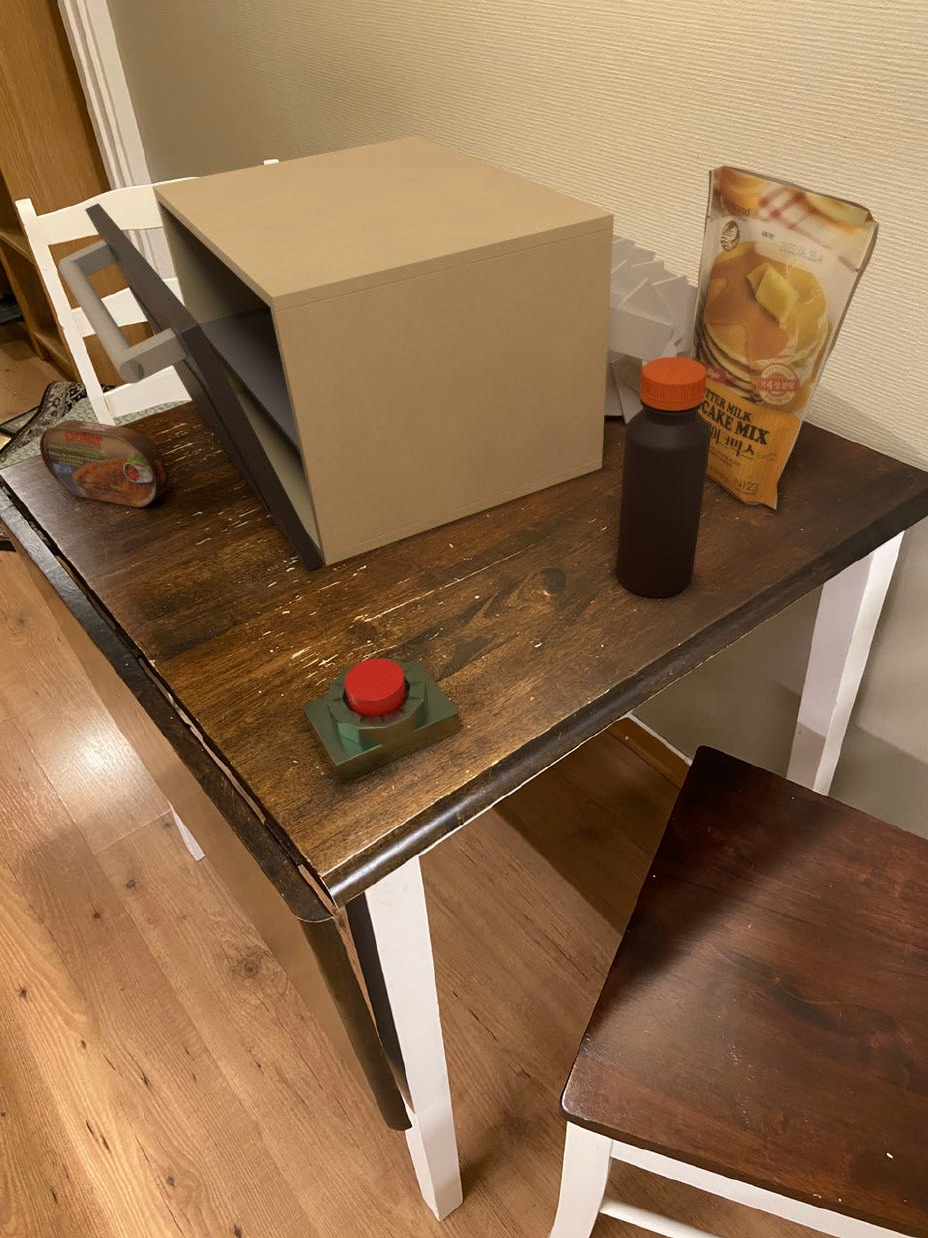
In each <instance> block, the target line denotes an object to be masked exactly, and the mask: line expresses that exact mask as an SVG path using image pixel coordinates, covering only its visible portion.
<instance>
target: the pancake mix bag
mask: <svg viewBox="0 0 928 1238" xmlns="http://www.w3.org/2000/svg"><path fill="white" fill-rule="evenodd" d="M870 210H871V209H869V208H867V207H866V206H864V205H862V204H860V203H858V202H855V201H853V200H848V199H844V198H840V197H838V196H834V195H830V194H827V193H822V192H819V191H815V190H813V189H809V188H807V187H804V186H801V185H799V184H796V183H794V182H791V181H788V180H785V179H781V178H778V177H774V176H770V175H767V174H762V173H758V172H755V171H751V170H748V169H742V168H740V167H739V168H738V167H733V166H728V165H721V166H719V167H716V168H714V169H711V170H708V195H707V204H706V212H705V213H706V214H705V219H704V229H703V241H702V249H701V256H700V262H699V267H698V268H699V269H698V277H697V281H698V282H697V287H698V288H697V294H696V299H695V306H694V313H693V333H692V344H691V360H694V361H696V362H698V363H700V364H702V365H703V366H704V368H705V369H706V370H707V377H706V384H705V393H704V399H703V401H702V402H703V403H702V405H701V407H700V409H698V413H699V414H700V415H701V416H702V417H703V418H704V419H705V420H706V421H707V423H708V424H709V425H710V429H711V441H710V449H709V456H708V463H707V471H706V476H707V478H709V479H710V480H712V481H713V482H714V483H716V484H718V485H719V486H720V487H721V488H723V489H724V490H725V491H726V492H727V493H728V494H730V495H731V496H733V497H734V498H736V499H737V500H738V501H740V502H742V503H744V504H745V505H764V506H766V507H769V508H771V509H774V510H777V505H778V504H777V503H778V498H779V493H778V483H779V480H780V478H781V476H782V473H783V471H784V468H785V466H786V464H787V462H788V459H789V457H790V455H791V454H792V451H793V449H794V447H795V444H796V441H797V439H798V436H799V433H800V430H801V428H802V424H803V421H804V419H805V416H806V414H807V412H808V409H809V407H810V404H811V403H812V399H813V397H814V394H815V392H816V390H817V387H818V385H819V383H820V381H821V379H822V376H823V373H824V370H825V367H826V365H827V361H828V360H829V358H830V356H831V354H832V352H833V350H834V348H835V346H836V343H837V341H838V338H839V335H840V332H841V329H842V327H843V324H844V321H845V318H846V316H847V313H848V310H849V309H850V305H851V303H852V300H853V297H854V295H855V293H856V291H857V288H858V286H859V285H860V281H861V279H862V277H863V275H864V273H865V271H866V269H867V267H868V265H869V264H870V261H871V258H872V255H873V253H874V250H875V247H876V244H877V239H878V234H879V228H880V223H879V222H878V221H877V220H875V219H874V217H873V215H872V213H871V211H870Z"/></svg>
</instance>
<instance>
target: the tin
mask: <svg viewBox="0 0 928 1238" xmlns="http://www.w3.org/2000/svg"><path fill="white" fill-rule="evenodd" d="M39 451H40V455H41V458H42V461H43V463H44V465H45V467H46V469H47V470H48V472H49V474H50V475H51V476H52V478H53V479H54V480H55V481H56V482H57V483H58V484H59V485H60V486H61V487H62V488H64V489H65V490H66V491H67V492H69V493H71V494H73V495H75V496H77V497H79V498H84V499H89V500H94V501H99V502H100V501H101V502H106V503H111V504H116V505H121V506H127V507H130V508H131V507H133V508H145V507H146V506H148V505H150V504H151V503H152V502H153V501H154V500H155V499H157V498H158V497H159V496H160V495H162V494H163V492H164V491H165V490H166V488H167V486H168V482H169V477H168V469H167V466H166V463H165V460H164V458H163V456H162V453H161V452H160V449H159V448H158V447H157V446H156V444H155V443H154V442H153V441H152V440H151V439H150V438H149V437H147V436H146V435H145V434H143V433H141V432H140V431H138V430H136V429H134V428H130V427H126V426H120V425H112V424H104V423H98V422H93V421H92V422H91V421H85V420H78V419H66V420H64V421H61V422H60V423H58V424H55V425H54V426H52V427H48V428H47V429H46V430H44V431H43V432H42V434H41V435H40V439H39Z"/></svg>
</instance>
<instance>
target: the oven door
mask: <svg viewBox="0 0 928 1238" xmlns="http://www.w3.org/2000/svg"><path fill="white" fill-rule="evenodd" d="M84 211H85V212H86V215H87V216H88V217H89V220H90V221H91V224H92V225H93V227H94V228H95V230H96V232H97V234H98V235H99V237H100V239H101V240H98V241H97V242H94V243H93V244H90V245H88V246H86V247H84V248H82V249H79V250H77V251H75V252H73V253H71V254H68V255H66V256H65V257H63V258H61V259H60V260H59V262H58V269H59V271H60V273H61V275H62V277H63V279H64V280H65V282H66V284H67V286H68V287H69V289H70V291H71V293H72V295H73V296H74V298H75V300H76V302H77V304H78V305H79V307H80V309H81V310H82V312H83V315H84V316H85V317H86V319H87V321H88V323H89V325H90V326H91V328H92V331H94V333H95V335H96V338H97V339H98V340H99V343H100V345H102V347H103V349H104V351H105V352H106V354H107V356H108V358H109V360H110V361H111V363H112V365H113V368H115V371H116V372H117V374H118V376H119V378H120V379H121V380H122V381H123V382H125V383H127V384H133V385H134V384H137V383H140V382H141V381H143V380H146V379H147V378H149V377H152V376H153V375H155V374H157V373H159V372H161V371H164V370H166V369H168V368H169V367H170V366H172V367H173V369H174V371H175V372H176V374H177V376H178V378H179V379H180V382H181V384H182V385H183V387H184V389H185V390H186V392H187V394H188V396H189V398H190V399H191V401H192V403H193V405H194V407H195V409H196V410H197V411H198V413H199V414H200V416H201V417H202V419H203V420H204V422H205V423H206V424H207V426H208V427H209V429H210V430H211V432H212V433H213V436H215V438H216V439H217V441H218V442H219V444H220V445H221V447H222V448H223V450H224V451H225V452H226V454H227V456H228V457H229V459H230V460H231V461H232V462H233V464H234V465H235V467H236V468H237V470H238V471H239V473H240V474H241V476H242V477H243V478H244V480H245V481H246V483H247V484H248V486H249V487H250V489H251V491H252V492H253V494H255V496H256V497H257V499H258V501H259V502H260V503H261V505H262V507H263V508H264V510H265V511H266V512H267V514H268V515H269V517H270V518H271V520H272V521H273V522H274V524H275V525H276V527H277V528H278V529H279V531H280V532H281V534H282V535H283V537H284V538H285V540H286V541H287V543H288V544H289V545H290V547H291V548H292V550H293V551H294V553H295V554H296V556H297V557H298V559H299V561H300V562H301V563H302V565H303V566H304V568H305V569H306V570H307V571H308V572H309V573H310V572H312V571H314V570H315V569H318V568H319V567H321V566H322V565H324V561H323V560H322V558H321V557H320V556H319V554H318V553H317V551H316V549H315V547H314V545H313V543H312V541H311V539H310V537H309V535H308V533H307V532H306V530H305V528H304V526H303V524H302V522H301V520H300V518H299V516H298V514H297V512H296V510H295V508H294V506H293V504H292V503H291V501H290V499H289V497H288V495H287V493H286V491H285V489H284V487H283V485H282V483H281V481H280V479H279V477H278V476H277V474H276V472H275V470H274V468H273V466H272V464H271V462H270V460H269V458H268V456H267V454H266V452H265V450H264V448H263V447H262V445H261V443H260V441H259V439H258V437H257V435H256V433H255V431H254V429H253V427H252V425H251V423H250V421H249V419H248V418H247V416H246V414H245V412H244V410H243V408H242V406H241V404H240V402H239V400H238V398H237V396H236V394H235V392H234V391H233V389H232V387H231V385H230V383H229V381H228V379H227V377H226V375H225V373H224V371H223V369H222V367H221V365H220V363H219V362H218V360H217V358H216V356H215V354H214V352H213V350H212V348H211V346H210V344H209V342H208V340H207V338H206V336H205V334H204V333H203V331H202V329H201V327H200V325H199V323H198V322H197V321H196V320H195V318H194V317H193V316H192V315H191V314H190V312H189V311H188V310H187V309H186V308H185V305H184V303H182V302H181V300H180V299H179V298H178V296H176V294H175V293H174V292H173V291H172V290H171V288H170V287H169V286H168V285H167V284H166V282H165V281H164V280H163V278H161V276H160V275H159V274H158V273H157V271H156V270H155V269H154V268H153V267H152V265H151V264H150V263H149V262H148V260H147V259H146V258H145V257H144V256H143V254H142V253H141V252H140V251H139V250H138V248H137V247H136V246H135V245H134V244H133V243H132V242H131V240H130V239H129V238H128V237H127V236H126V234H125V233H124V231H123V230H121V228H120V227H119V226H118V225H117V224H116V222H115V221H114V220H113V219H112V218H111V216H110V215H109V214H108V212H107V211H106V210H105V209H104V208H103V207H102V205H101V204H100V203H96V204H94V205H91V206H89V207H87V208H85V209H84ZM113 265H115V266H116V267H117V270H118V272H119V273H120V275H121V276H122V278H123V280H124V282H125V284H126V285H127V287H128V289H129V290H130V293H131V294H132V296H133V297H134V300H135V302H136V303H137V305H138V307H139V308H140V310H141V312H142V314H143V316H144V317H145V320H146V321H147V323H148V324H149V327H150V328H151V330H152V331H153V334H154V335H153V336H151V337H149V338H146V339H145V340H143V341H141V342H139V343H137V344H135V345H133V346H131V344H130V343H129V341H128V339H127V338H126V336H125V335H124V333H123V332H122V330H121V328H120V327H119V325H118V323H117V322H116V321H115V319H114V317H113V316H112V314H111V313H110V311H109V309H108V307H107V306H106V305H105V303H104V302H103V300H102V298H101V296H100V295H99V293H98V292H97V291H96V289H95V287H94V286H93V284H92V283H91V281H90V279H89V278H88V277H90V276H92V275H94V274H96V273H98V272H100V271H102V270H105V269H107V268H109V267H110V266H113Z"/></svg>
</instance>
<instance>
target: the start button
mask: <svg viewBox="0 0 928 1238" xmlns="http://www.w3.org/2000/svg"><path fill="white" fill-rule="evenodd" d="M368 659H369V660H367V659H365V660H366V661H364V660H362V661H363V662H362V661H359V662H360V663H359V662H357V663H358V664H357V663H356V664H357V665H355V666H354V667H353V668H351V669H350V671H349V672H348V673H347V675H346V677H345V682H344V684H345V690H346V694H347V699H348V703H349V705H350V707H351V708H352V709H353V710H354V711H356V712H357V713H359V714H362V715H365V716H381V715H385V714H388V713H390V712H392V711H394V710H396V709H397V708H398V707H399V706H400V705H401V704H402V703H403V701H404V699H405V697H406V686H405V680H404V673H403V671H402V669H401V668H400V666H399V665H397V664H396V663H394V662H393V661H390V660H387V659H374V658H368Z"/></svg>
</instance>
